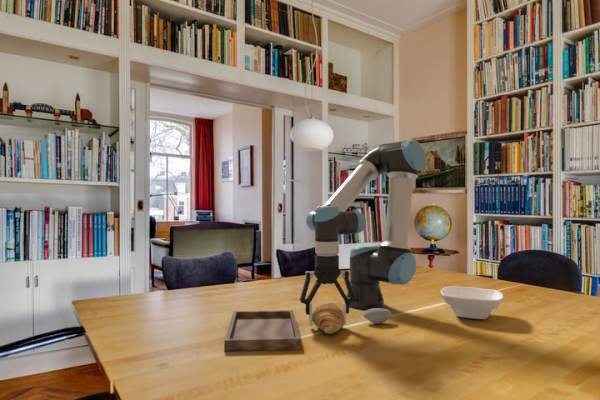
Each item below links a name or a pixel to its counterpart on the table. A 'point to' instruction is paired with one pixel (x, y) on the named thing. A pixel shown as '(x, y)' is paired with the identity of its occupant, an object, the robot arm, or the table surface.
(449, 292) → the bowl
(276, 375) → the table surface
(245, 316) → the tray
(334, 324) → the croissant
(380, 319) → the stone
